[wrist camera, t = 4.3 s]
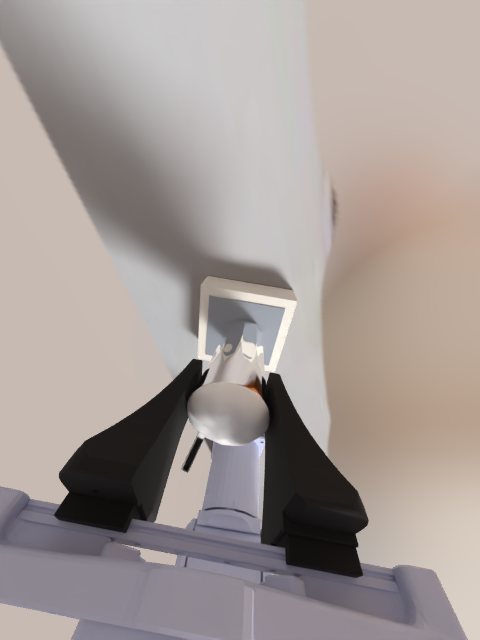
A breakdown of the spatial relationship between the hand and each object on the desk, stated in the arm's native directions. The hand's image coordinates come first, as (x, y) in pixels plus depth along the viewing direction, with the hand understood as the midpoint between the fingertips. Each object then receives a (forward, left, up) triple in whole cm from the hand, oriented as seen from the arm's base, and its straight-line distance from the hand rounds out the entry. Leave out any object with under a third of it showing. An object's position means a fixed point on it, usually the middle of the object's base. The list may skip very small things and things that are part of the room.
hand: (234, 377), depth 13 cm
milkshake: (0, 0, -6) cm, 6 cm away
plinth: (0, 0, -8) cm, 8 cm away
